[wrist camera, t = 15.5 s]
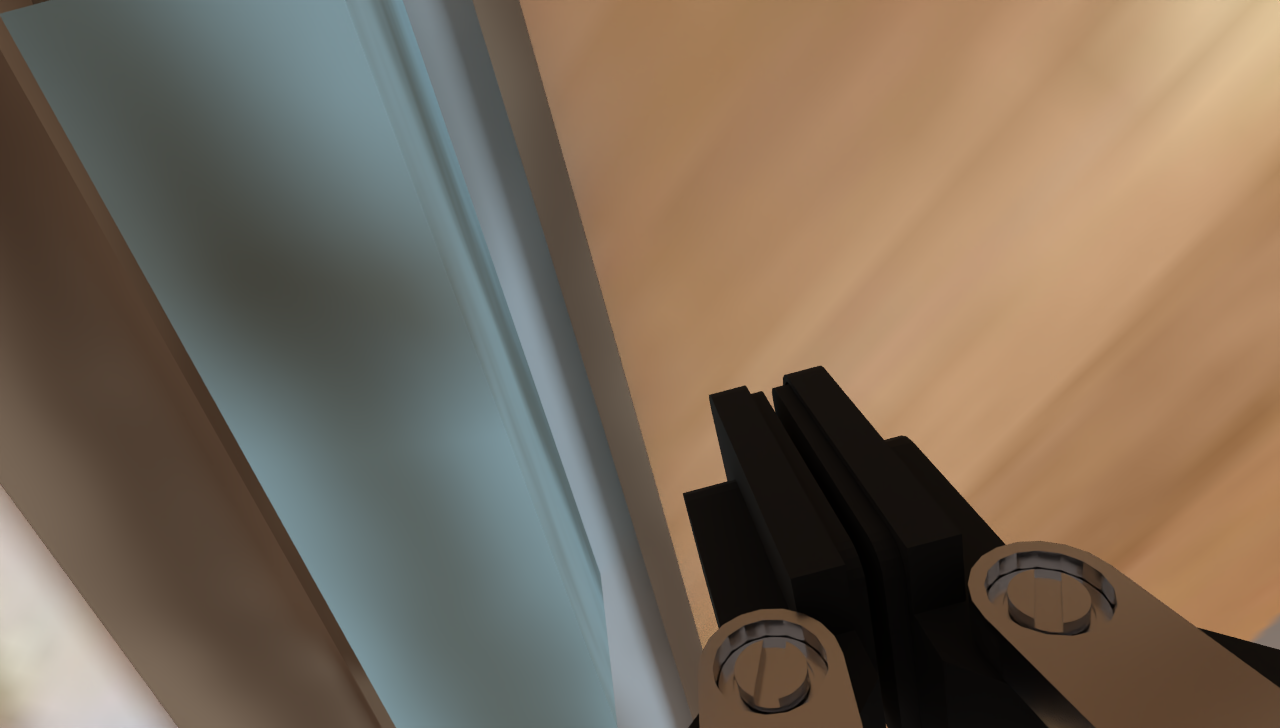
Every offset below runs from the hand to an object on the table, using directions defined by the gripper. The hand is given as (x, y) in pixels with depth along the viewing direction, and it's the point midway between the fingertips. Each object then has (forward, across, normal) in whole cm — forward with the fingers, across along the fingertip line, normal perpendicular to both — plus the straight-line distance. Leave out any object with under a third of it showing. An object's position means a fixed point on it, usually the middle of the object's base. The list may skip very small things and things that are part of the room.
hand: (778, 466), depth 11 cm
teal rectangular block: (+10, +7, 0) cm, 12 cm away
